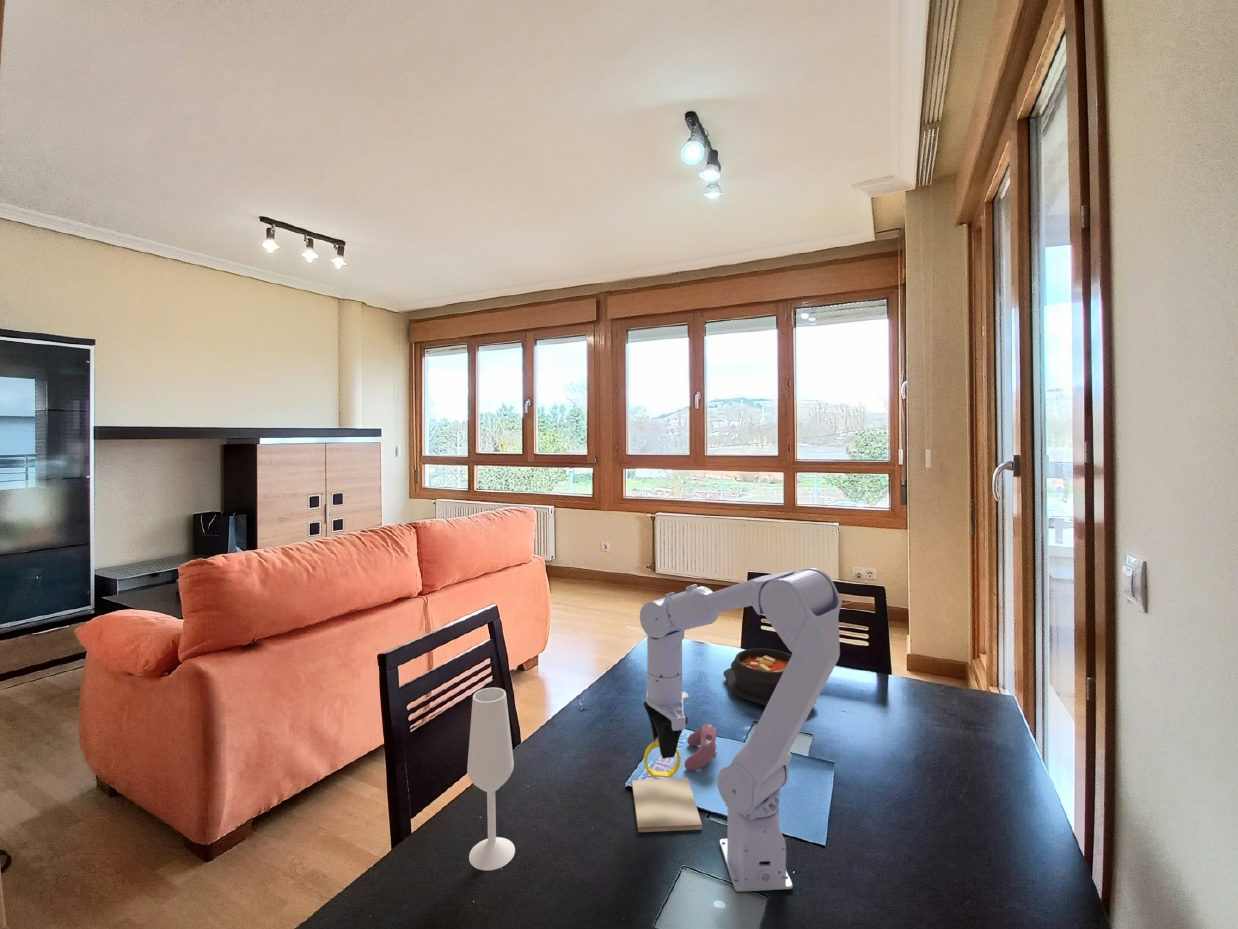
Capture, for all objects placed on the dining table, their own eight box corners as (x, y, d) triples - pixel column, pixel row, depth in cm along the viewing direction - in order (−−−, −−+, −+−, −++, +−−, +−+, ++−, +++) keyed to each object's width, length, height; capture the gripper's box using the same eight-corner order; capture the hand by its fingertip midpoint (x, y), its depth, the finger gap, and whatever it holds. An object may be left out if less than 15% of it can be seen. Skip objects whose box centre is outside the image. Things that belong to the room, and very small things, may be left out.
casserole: (835, 710, 126) (836, 673, 126) (767, 726, 119) (768, 688, 119) (766, 668, 149) (766, 636, 149) (705, 679, 142) (706, 647, 142)
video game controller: (704, 782, 103) (722, 750, 102) (682, 769, 103) (699, 737, 102) (706, 752, 112) (722, 723, 111) (685, 740, 113) (701, 711, 112)
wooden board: (701, 829, 88) (701, 824, 88) (638, 832, 88) (638, 827, 87) (688, 782, 100) (688, 778, 100) (632, 784, 99) (632, 780, 99)
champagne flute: (524, 853, 83) (521, 695, 82) (483, 878, 79) (480, 710, 77) (499, 830, 88) (497, 680, 87) (460, 852, 83) (457, 694, 82)
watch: (644, 780, 92) (645, 744, 92) (642, 771, 94) (643, 736, 94) (680, 780, 92) (682, 744, 92) (677, 771, 95) (679, 736, 95)
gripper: (704, 687, 86) (704, 772, 87) (673, 652, 101) (673, 726, 101) (660, 692, 85) (660, 779, 86) (635, 656, 99) (635, 731, 100)
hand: (664, 751), depth 93 cm, fingers closed on watch, 3 cm apart
